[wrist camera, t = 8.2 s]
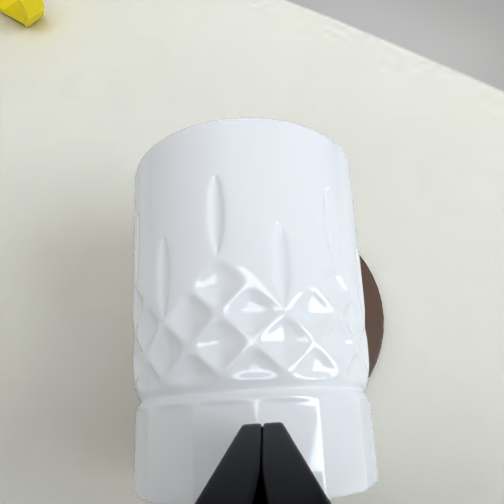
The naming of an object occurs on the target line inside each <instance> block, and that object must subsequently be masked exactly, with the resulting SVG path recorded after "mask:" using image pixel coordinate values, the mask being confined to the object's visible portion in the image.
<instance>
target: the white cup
mask: <svg viewBox="0 0 504 504" xmlns="http://www.w3.org/2000/svg"><path fill="white" fill-rule="evenodd" d="M133 326H134V334H135V342H134V352H133V372H134V381H135V387H136V392H137V397H138V399H139V400H140V401H141V404H140V405H139V407H138V408H137V410H136V436H135V494H136V496H137V497H138V498H140V499H142V500H144V501H146V502H148V503H151V504H195V502H196V500H197V499H198V497H199V496H200V494H201V492H202V491H203V489H204V487H205V486H206V484H207V482H208V481H209V479H210V477H211V476H212V474H213V472H214V471H215V469H216V467H217V466H218V464H219V463H220V461H221V459H222V458H223V456H224V454H225V453H226V451H227V449H228V448H229V446H230V444H231V443H232V441H233V439H234V438H235V436H236V434H237V433H238V431H239V430H240V428H241V426H242V425H244V424H255V423H260V424H261V425H262V427H263V424H264V423H271V422H281V423H283V424H284V426H285V427H286V429H287V431H288V432H289V434H290V436H291V437H292V439H293V441H294V442H295V444H296V446H297V447H298V449H299V451H300V452H301V454H302V456H303V457H304V459H305V461H306V462H307V464H308V466H309V467H310V469H311V471H312V472H313V474H314V476H315V477H316V479H317V481H318V482H319V484H320V486H321V487H322V489H323V491H324V492H325V494H326V496H327V497H328V499H334V498H339V497H343V496H348V495H353V494H357V493H362V492H366V491H367V490H369V489H370V488H371V487H372V486H374V485H375V484H376V483H377V480H378V474H377V463H376V454H375V445H374V436H373V427H372V417H371V409H370V400H369V398H368V396H367V395H366V394H365V393H364V390H365V388H366V387H367V382H368V375H369V353H368V343H367V336H366V330H365V304H364V293H363V283H362V274H361V265H360V256H359V247H358V238H357V228H356V219H355V210H354V200H353V190H352V180H351V170H350V164H349V161H348V159H347V157H346V155H345V154H344V152H343V151H342V150H341V149H340V147H339V146H338V145H337V144H335V143H334V142H333V141H332V140H330V139H329V138H327V137H326V136H324V135H322V134H321V133H319V132H317V131H315V130H312V129H310V128H307V127H305V126H302V125H298V124H295V123H291V122H286V121H281V120H275V119H266V118H231V119H222V120H216V121H210V122H206V123H201V124H198V125H194V126H191V127H188V128H185V129H183V130H180V131H178V132H176V133H173V134H171V135H169V136H168V137H166V138H164V139H163V140H161V141H160V142H158V143H157V144H155V145H154V146H153V147H152V148H151V149H150V150H149V151H148V152H147V153H146V154H145V155H144V156H143V158H142V159H141V161H140V163H139V165H138V167H137V170H136V174H135V213H134V266H133Z"/></svg>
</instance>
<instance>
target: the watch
mask: <svg viewBox="0 0 504 504" xmlns="http://www.w3.org/2000/svg"><path fill="white" fill-rule="evenodd" d="M0 11H1V12H2V13H4V14H6V15H8V16H10V17H11V18H13V19H15V20H17V21H19V22H21V23H22V24H24V25H25V27H27V26H28V27H29V26H30V25H31V24H33V23H34V22H35V21H37V20H38V19H40V18H41V17H42V16H43V12H44V4H43V2H42V0H0Z"/></svg>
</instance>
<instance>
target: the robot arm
mask: <svg viewBox="0 0 504 504" xmlns="http://www.w3.org/2000/svg"><path fill="white" fill-rule="evenodd" d="M195 504H331V502H330V501H329V499H328V497H327V496H326V494H325V492H324V491H323V489H322V487H321V486H320V484H319V482H318V481H317V479H316V477H315V476H314V474H313V472H312V471H311V469H310V467H309V466H308V464H307V462H306V461H305V459H304V457H303V456H302V454H301V452H300V451H299V449H298V447H297V446H296V444H295V442H294V441H293V439H292V437H291V436H290V434H289V432H288V431H287V429H286V427H285V426H284V424H283V423H281V422H271V423H264V424H263V427H262V425H261V424H260V423H255V424H244V425H242V426H241V428H240V430H239V431H238V433H237V434H236V436H235V438H234V439H233V441H232V443H231V444H230V446H229V448H228V449H227V451H226V453H225V454H224V456H223V458H222V459H221V461H220V463H219V464H218V466H217V467H216V469H215V471H214V472H213V474H212V476H211V477H210V479H209V481H208V482H207V484H206V486H205V487H204V489H203V491H202V492H201V494H200V496H199V497H198V499H197V500H196V502H195Z"/></svg>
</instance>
